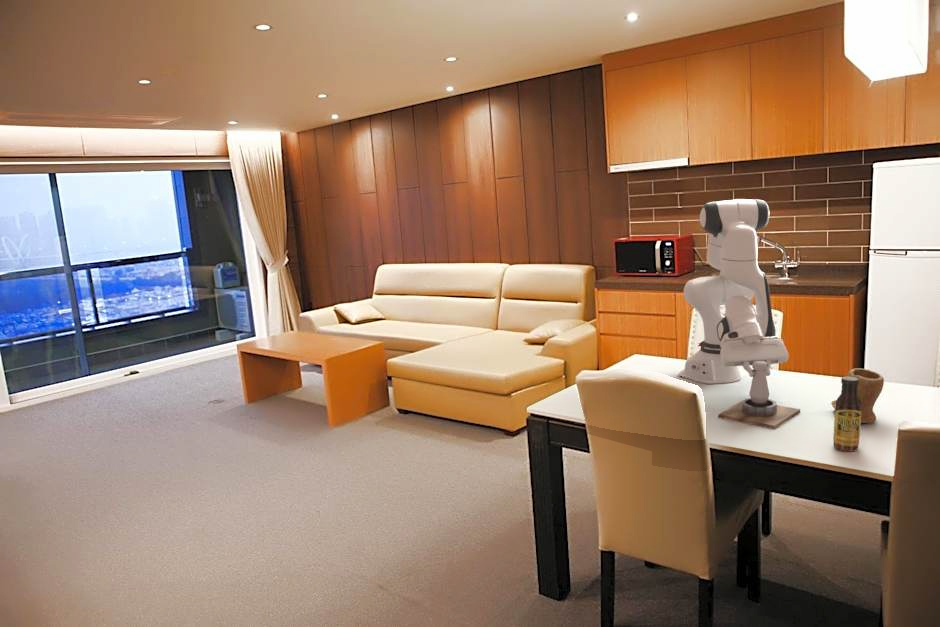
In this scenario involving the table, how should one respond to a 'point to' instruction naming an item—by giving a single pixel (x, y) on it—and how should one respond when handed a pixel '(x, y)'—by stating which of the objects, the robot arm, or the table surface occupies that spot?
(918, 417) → the table surface
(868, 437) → the table surface
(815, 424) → the table surface
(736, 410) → the keeper plate
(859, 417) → the sauce bottle
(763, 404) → the keeper collar
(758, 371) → the salt shaker
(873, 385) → the stone cup
